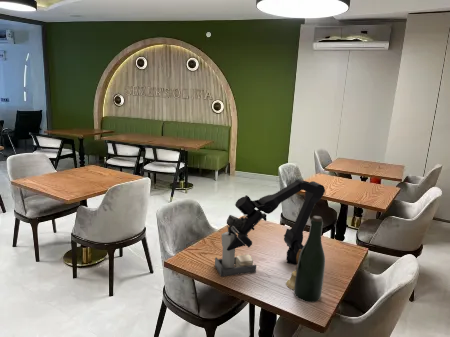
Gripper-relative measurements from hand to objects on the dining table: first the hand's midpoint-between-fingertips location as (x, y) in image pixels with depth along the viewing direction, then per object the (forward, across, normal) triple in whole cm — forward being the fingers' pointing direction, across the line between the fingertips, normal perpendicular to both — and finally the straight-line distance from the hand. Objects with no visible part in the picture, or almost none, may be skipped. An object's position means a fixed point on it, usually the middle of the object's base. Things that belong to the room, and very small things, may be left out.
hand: (225, 246), depth 144 cm
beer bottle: (-11, +26, +26) cm, 38 cm away
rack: (+4, 0, +12) cm, 12 cm away
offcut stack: (+1, 0, +15) cm, 15 cm away
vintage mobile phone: (+7, 0, +9) cm, 11 cm away
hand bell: (-10, +18, +26) cm, 33 cm away
